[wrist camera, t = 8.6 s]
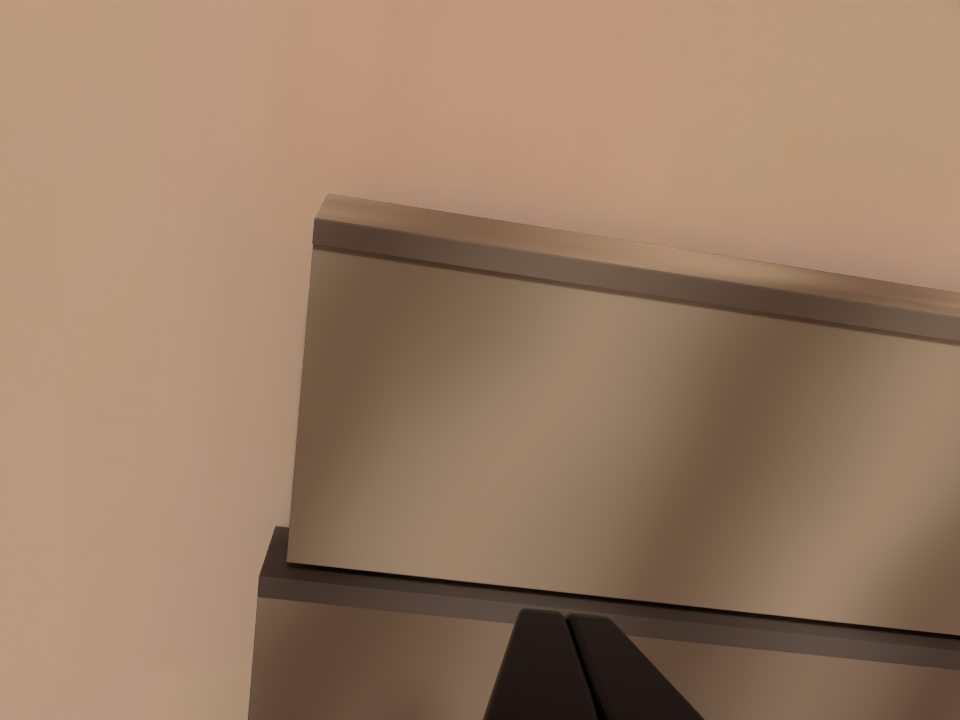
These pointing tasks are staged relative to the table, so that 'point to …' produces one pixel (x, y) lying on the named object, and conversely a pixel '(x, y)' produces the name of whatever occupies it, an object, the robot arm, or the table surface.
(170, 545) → the table surface
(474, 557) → the plank
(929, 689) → the laid board
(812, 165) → the table surface
